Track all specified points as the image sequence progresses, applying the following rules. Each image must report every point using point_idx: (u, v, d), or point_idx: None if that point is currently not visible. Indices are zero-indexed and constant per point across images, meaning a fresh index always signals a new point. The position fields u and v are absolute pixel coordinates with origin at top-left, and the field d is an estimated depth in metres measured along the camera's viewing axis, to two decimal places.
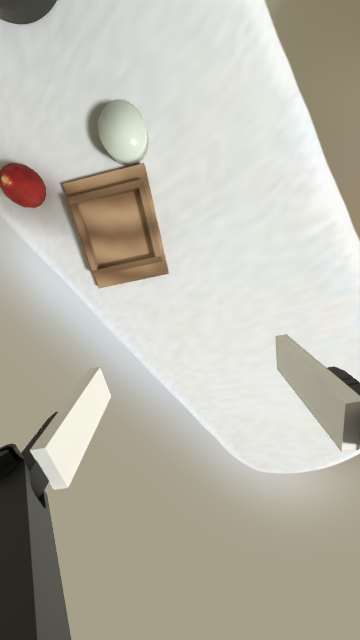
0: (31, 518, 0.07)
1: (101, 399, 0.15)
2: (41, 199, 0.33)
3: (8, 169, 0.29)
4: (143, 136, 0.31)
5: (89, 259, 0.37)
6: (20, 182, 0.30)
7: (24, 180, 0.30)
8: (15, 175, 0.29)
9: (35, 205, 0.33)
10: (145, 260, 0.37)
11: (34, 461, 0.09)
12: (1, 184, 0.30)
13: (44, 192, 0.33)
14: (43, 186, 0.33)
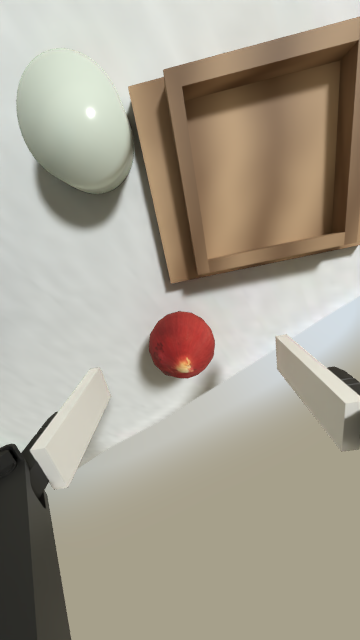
0: (31, 518, 0.07)
1: (101, 399, 0.15)
2: (202, 319, 0.18)
3: (163, 358, 0.16)
4: (74, 54, 0.12)
5: (319, 246, 0.17)
6: (184, 343, 0.15)
7: (179, 336, 0.16)
8: (173, 349, 0.15)
9: (211, 332, 0.18)
10: (359, 79, 0.13)
11: (34, 461, 0.09)
12: (188, 375, 0.16)
13: (189, 313, 0.18)
14: (180, 312, 0.18)
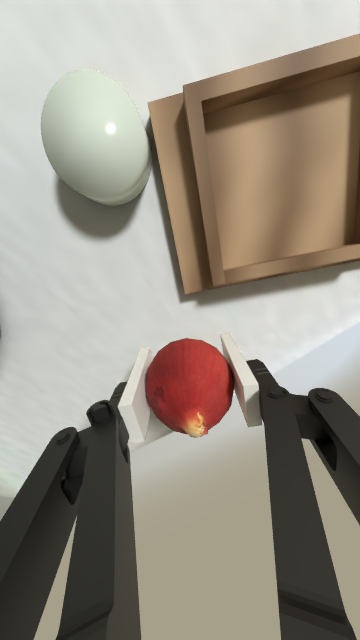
0: (117, 471, 0.08)
1: None
2: (217, 351, 0.13)
3: (164, 409, 0.11)
4: (97, 74, 0.13)
5: (340, 258, 0.16)
6: (194, 391, 0.11)
7: (187, 380, 0.11)
8: (178, 398, 0.11)
9: (229, 367, 0.14)
10: None
11: (120, 417, 0.11)
12: None
13: (199, 341, 0.14)
14: (188, 340, 0.13)
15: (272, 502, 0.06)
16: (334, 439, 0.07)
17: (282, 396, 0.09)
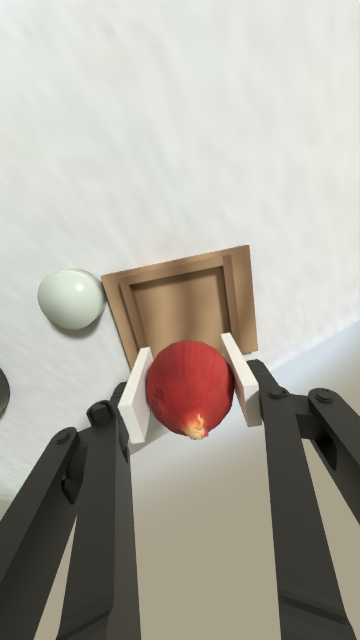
0: (117, 471, 0.08)
1: None
2: (217, 352, 0.13)
3: (165, 411, 0.11)
4: (69, 274, 0.23)
5: None
6: (194, 393, 0.11)
7: (188, 382, 0.11)
8: (179, 400, 0.11)
9: (229, 368, 0.14)
10: (227, 281, 0.24)
11: (120, 417, 0.11)
12: None
13: (200, 342, 0.14)
14: (188, 342, 0.13)
15: (272, 502, 0.06)
16: (334, 439, 0.07)
17: (282, 396, 0.09)
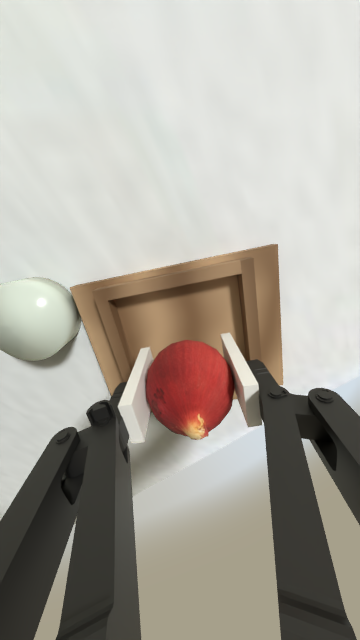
0: (117, 471, 0.08)
1: None
2: (217, 352, 0.13)
3: (164, 411, 0.11)
4: (22, 286, 0.16)
5: (233, 397, 0.20)
6: (194, 393, 0.11)
7: (188, 382, 0.11)
8: (179, 400, 0.11)
9: (229, 368, 0.14)
10: (246, 296, 0.17)
11: (120, 416, 0.11)
12: None
13: (200, 342, 0.14)
14: (188, 342, 0.13)
15: (272, 502, 0.06)
16: (334, 439, 0.07)
17: (282, 396, 0.09)
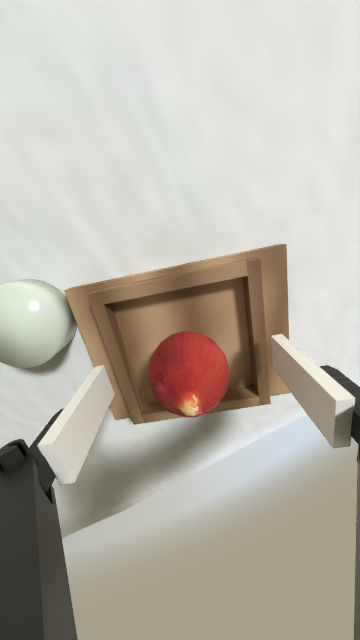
0: (38, 513, 0.07)
1: (105, 397, 0.15)
2: (214, 342, 0.14)
3: (164, 392, 0.12)
4: (12, 289, 0.15)
5: (237, 406, 0.19)
6: (190, 375, 0.12)
7: (185, 366, 0.12)
8: (176, 382, 0.12)
9: (225, 358, 0.15)
10: (252, 299, 0.16)
11: (41, 456, 0.10)
12: None
13: (198, 333, 0.15)
14: (187, 332, 0.15)
15: None
16: None
17: None
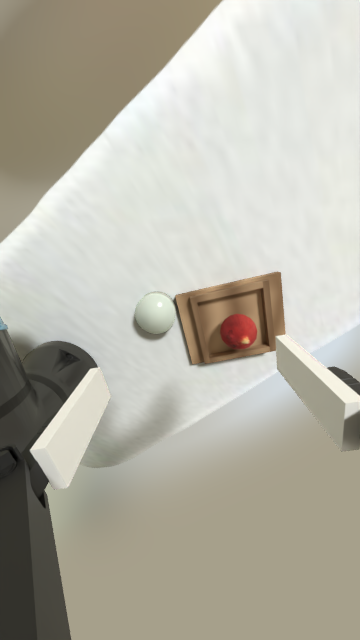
0: (31, 518, 0.07)
1: (101, 399, 0.15)
2: (250, 318, 0.33)
3: (233, 337, 0.31)
4: (158, 296, 0.34)
5: (258, 352, 0.37)
6: (244, 329, 0.31)
7: (241, 326, 0.31)
8: (239, 332, 0.31)
9: None
10: (265, 298, 0.34)
11: (34, 461, 0.09)
12: (245, 346, 0.31)
13: (242, 314, 0.33)
14: (238, 314, 0.33)
15: None
16: None
17: None
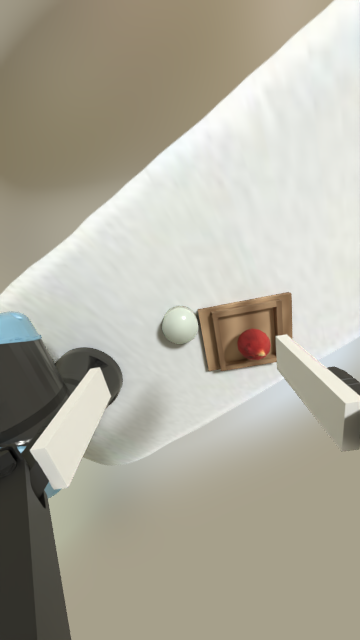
0: (31, 518, 0.07)
1: (101, 399, 0.15)
2: None
3: (250, 349, 0.36)
4: (184, 311, 0.39)
5: (269, 362, 0.42)
6: (260, 343, 0.36)
7: (258, 340, 0.36)
8: (256, 346, 0.36)
9: (268, 338, 0.38)
10: (278, 315, 0.39)
11: (34, 461, 0.09)
12: (260, 358, 0.36)
13: (258, 329, 0.38)
14: (254, 329, 0.38)
15: None
16: None
17: None
